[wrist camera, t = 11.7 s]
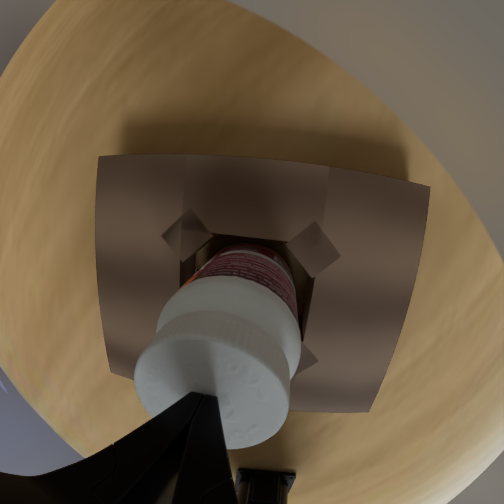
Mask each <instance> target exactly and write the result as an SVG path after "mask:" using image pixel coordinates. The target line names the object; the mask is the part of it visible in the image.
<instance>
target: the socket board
mask: <svg viewBox="0 0 504 504" xmlns="http://www.w3.org/2000/svg"><path fill="white" fill-rule="evenodd" d="M429 197H430V187H429V186H426V185H422V184H417V183H413V182H409V181H405V180H400V179H396V178H391V177H386V176H381V175H376V174H371V173H366V172H360V171H355V170H349V169H343V168H337V167H330V166H324V165H317V164H309V163H301V162H293V161H284V160H274V159H264V158H252V157H238V156H221V155H196V154H136V155H112V156H99V159H98V170H97V183H96V205H95V248H96V270H97V283H98V294H99V304H100V312H101V320H102V327H103V334H104V340H105V346H106V351H107V357H108V362H109V367H110V371H111V372H112V373H115V374H117V375H120V376H123V377H126V378H129V379H132V380H134V371H135V367H136V363H137V361H138V358H139V356H140V355H141V353H142V352H143V351H144V349H145V348H146V347H147V346H148V344H149V343H150V342H151V341H152V339H153V337H154V336H155V335H156V327H157V322H158V319H159V316H160V314H161V312H162V310H163V308H164V306H165V305H166V303H167V302H168V301H169V300H170V298H171V297H172V296H173V295H174V294H175V293H176V292H177V291H178V290H179V289H180V288H181V287H182V286H183V285H184V284H185V283H186V282H187V281H188V280H189V279H190V278H191V277H192V276H193V275H194V274H195V256H196V252H198V251H199V250H200V249H201V248H202V247H204V246H205V245H206V244H207V243H208V242H209V241H211V240H212V239H213V238H214V237H215V236H217V235H218V234H226V235H235V236H244V237H253V238H262V239H270V240H279V241H285V245H286V246H287V247H288V248H289V250H290V251H291V252H292V253H293V255H294V256H295V257H296V258H297V260H298V261H299V262H300V264H301V265H302V266H303V267H304V269H305V270H306V271H307V272H308V274H309V275H308V281H307V287H306V293H305V299H304V305H303V311H302V316H301V321H300V319H298V322H299V329H300V336H301V354H300V360H299V364H298V367H297V369H296V372H295V374H294V375H293V377H292V378H291V380H290V388H289V389H290V396H289V397H290V399H289V410H290V411H305V412H329V413H360V412H369V410H370V408H371V406H372V404H373V402H374V400H375V398H376V395H377V393H378V391H379V388H380V386H381V384H382V381H383V379H384V377H385V374H386V372H387V369H388V366H389V364H390V361H391V359H392V356H393V353H394V350H395V348H396V345H397V342H398V339H399V336H400V333H401V330H402V327H403V323H404V320H405V317H406V313H407V310H408V306H409V303H410V299H411V295H412V292H413V288H414V284H415V279H416V275H417V271H418V266H419V261H420V256H421V251H422V246H423V240H424V234H425V228H426V221H427V214H428V206H429Z"/></svg>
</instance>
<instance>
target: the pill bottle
mask: <svg viewBox="0 0 504 504" xmlns="http://www.w3.org/2000/svg"><path fill="white" fill-rule="evenodd" d="M300 354H301V336H300V329H299V322H298V313H297V303H296V290H295V284H294V279H293V275H292V273H291V270H290V268H289V267H288V265H287V263H286V262H285V261H284V260H283V259H282V258H281V257H280V256H279V255H278V254H277V253H276V252H274V251H273V250H271V249H269V248H267V247H265V246H262V245H259V244H254V243H238V244H234V245H231V246H228V247H226V248H224V249H222V250H221V251H219V252H218V253H217V254H215V255H214V256H213V257H212V258H211V259H210V260H209V261H208V262H207V263H205V264H204V265H203V266H202V267H201V268H200V269H199V270H198V271H197V272H196V273H195V274H194V275H193V276H192V277H191V278H190V279H189V280H188V281H187V282H186V283H185V284H184V285H183V286H182V287H181V288H180V289H179V290H178V291H177V292H176V293H175V294H174V295H173V296H172V297H171V298H170V300H169V301H168V302H167V303H166V305H165V306H164V308H163V310H162V312H161V314H160V316H159V319H158V322H157V327H156V335H155V336H154V337H153V339H152V341H151V342H150V343H149V344H148V346H147V347H146V348H145V349H144V351H143V352H142V353H141V355H140V356H139V358H138V361H137V363H136V367H135V371H134V382H135V388H136V391H137V394H138V397H139V399H140V401H141V403H142V404H143V406H144V408H145V409H146V410H147V411H148V413H149V414H150V415H151V416H152V417H153V418H154V417H155V416H156V415H158V414H159V413H161V412H162V411H164V410H165V409H167V408H168V407H170V406H171V405H172V404H174V403H175V402H177V401H178V400H179V399H181V398H182V397H184V396H185V395H186V394H188V393H189V392H191V391H194V392H199V393H203V394H204V395H205V394H208V395H214V396H217V397H218V402H219V408H220V414H221V420H222V426H223V431H224V437H225V442H226V447H227V449H240V448H246V447H250V446H254V445H257V444H259V443H261V442H263V441H265V440H267V439H269V438H270V437H272V436H273V435H274V434H275V433H276V432H277V431H278V430H279V429H280V428H281V427H282V425H283V423H284V422H285V420H286V417H287V414H288V410H289V399H290V397H289V396H290V389H289V388H290V380H291V378H292V377H293V375H294V374H295V372H296V369H297V367H298V364H299V360H300Z"/></svg>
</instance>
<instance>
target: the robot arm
mask: <svg viewBox="0 0 504 504" xmlns="http://www.w3.org/2000/svg"><path fill="white" fill-rule="evenodd" d="M295 478H296V474H294V473H280V472H268V471H258V470H250V469H242V468H240V469H238V471H237V477H236V484H235V485H234V481H233V479H232V472H231V467H230V463H229V458H228V453H227V447H226V442H225V437H224V431H223V426H222V420H221V414H220V408H219V402H218V397H217V396H214V395H208V394H205V395H204V394H203V393H199V392H194V391H191V392H189V393H188V394H186V395H185V396H184V397H182V398H181V399H179V400H178V401H177V402H175V403H174V404H172V405H171V406H170V407H168V408H167V409H165V410H164V411H162V412H161V413H159V414H158V415H156V416H155V417H154V418H152V419H151V420H149V421H148V422H146V423H145V424H143V425H141V426H140V427H138V428H137V429H135V430H134V431H132V432H131V433H129V434H128V435H126V436H124V437H123V438H121V439H120V440H118V441H116V442H115V443H114V445H113V444H111V445H110V446H108V447H106V448H105V449H103V450H101V451H99V452H97V453H95V454H94V455H92V456H90V457H88V458H85V459H83V460H81V461H78V462H76V463H74V464H71V465H68V466H66V467H63V468H60V469H57V470H55V471H52V472H49V473H46V474H42V475H37V476H20V475H14V474H8V473H3V472H0V504H287V497H288V492H289V491H290V489H291V487H292V485H293V482H294V480H295Z"/></svg>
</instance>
